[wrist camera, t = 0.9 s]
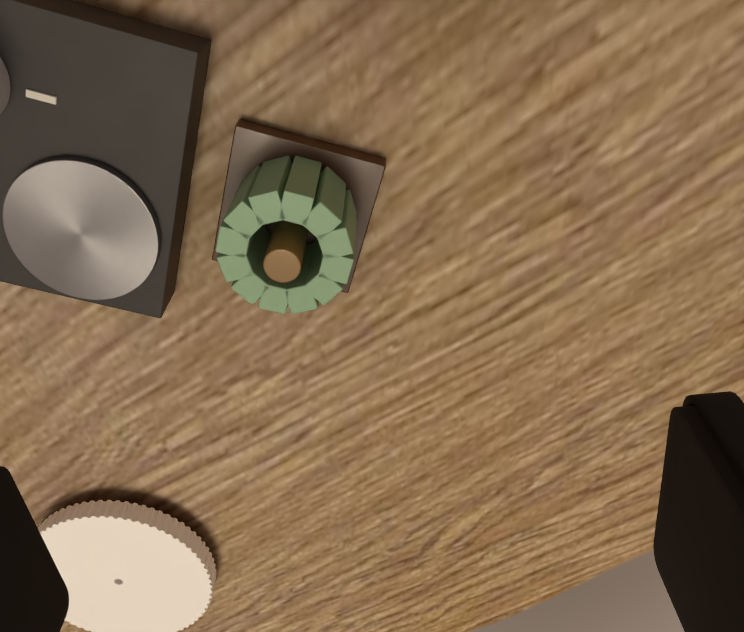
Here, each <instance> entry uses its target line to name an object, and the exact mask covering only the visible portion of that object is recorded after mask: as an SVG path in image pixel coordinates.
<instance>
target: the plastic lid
mask: <svg viewBox="0 0 744 632" xmlns="http://www.w3.org/2000/svg"><path fill="white" fill-rule="evenodd" d="M177 520H178V519H177V518H172V517H170V515H169V514H164V513H163V511H160V510H159V511H156V510H155V508H152V507H151V508H147V507H146V505H142V506H140V505H138V504H137V503H133V504H131V503H129V502H128V501H125V502H120V500H116V501H115V502H114V501H111V500H107V501H103V500H98V502H95V501H94V500H92V501H90V502H89V503H87V502H82V503H81V504H78V503H75V504H74V506H71V505H69V506H67V508H66V509H64V508H61V509H60V511H59V512H58V511H56V512H54V514H53V515H49V517H48V519H45V520H44V521H43V523H41V524H40V525H39V527H38V530H39V532H40V534H41V536H42V538H43V540H44V542H45V544H46V546H47V548H48V550H49V552H50V554H51V557H52V559H53V561H54V563H55V565H56V567H57V569H58V571H59V573H60V575H61V577H62V579H63V581H64V583H65V585H66V587H67V590H68V593H69V607H68V612H67V615H66V618H65V620H64V621H68V622H70V624H72V625H74V624H75V625H77V627H78V628H81V627H82V628H84V630H86V631H88V630H90V631H92V632H178V630H183V629H184V627H186V628H187V627H189V624H193V623H194V621H197V620H198V619H199V617H201V616H202V615H203V613H205V611H206V608H208V606H209V603H210V601H211V598H212V594H213V589H214V585H215V581H216V569H215V566H216V564H215V563H214V558H212V553H211V552H209V548H208V547H206V546H205V545H206V543H205V542H202V541H201V537H200V536H197V535H196V532H195V531H191V530H190V529H191V528H190V527H189V526H187V527H186V526H185V525H184V523H183V522H179V521H177Z"/></svg>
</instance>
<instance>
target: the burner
mask: <svg viewBox="0 0 744 632" xmlns="http://www.w3.org/2000/svg"><path fill="white" fill-rule="evenodd" d="M2 218H3V227H4V231H5V235H6V237H7V240H8V243H9V245H10V247H11V249H12V251H13V252H14V254H15V255H16V257H17V258H18V260H19V261H20V262H21V263H22V265H23V266H24V267H25V268H26V269H27V270H28V271H29V272H30V273H31V274H32V275H33V276H35V277H36V278H37V279H38V280H40V281H41V282H43V283H44V284H46V285H47V286H49V287H51V288H53V289H55V290H57V291H59V292H61V293H64V294H66V295H69V296H73V297H76V298H81V299H88V300H107V299H113V298H117V297H120V296H123V295H126V294H128V293H130V292H132V291H133V290H135V289H137V288H138V287H139V286H140V285H142V284H143V283H144V282H145V281H146V279H147V278H148V277H149V276H150V274H151V272H152V271H153V269H154V267H155V266H156V264H157V261H158V258H159V255H160V250H161V231H160V226H159V222H158V219H157V217H156V214H155V211H154V210H153V208H152V206H151V204H150V202H149V201H148V199H147V198H146V196H145V195H144V194H143V193H142V191H141V190H140V189H139V188H138V187H137V186H136V185H135V184H134V183H133V182H132V181H131V180H130V179H128V178H127V177H126V176H124V175H123V174H122V173H120V172H118V171H117V170H115V169H113V168H112V167H110V166H107V165H105V164H103V163H101V162H98V161H95V160H91V159H87V158H82V157H74V156H60V157H53V158H48V159H45V160H42V161H39V162H37V163H35V164H34V165H32V166H30V167H29V168H27V169H26V170H25V171H23V172H22V173H21V174H20V175H19V176H18V177H17V178H16V179H15V180H14V181H13V183H12V184H11V186H10V187H9V189H8V191H7V193H6V196H5V199H4V203H3V211H2Z"/></svg>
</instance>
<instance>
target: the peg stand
mask: <svg viewBox="0 0 744 632" xmlns="http://www.w3.org/2000/svg"><path fill="white" fill-rule="evenodd" d="M284 156H289V157H290V160H291V163H292V164H293V161H294V158H295V156H299V157H303V158H307V159H310V160H314V161H318V162H321V163H322V165H321V169H320V172H321V171H322V170H323V169H324V168H326V167H327V166H328V167H329V168H330V169H331V170H332V171H333V172H334V173H335V174H336V175H338V176H339V177H340V178H341V179H342V180H343V181H344V182H345V183H346V190H350V191H351V195H352V198H353V201H354V205H355V208H356V212H357V215H356V219H357V224H356V237H355V251H354V261H353V265H352V268H351V271H350V275H349V278H348V282H347V284H344V283H343V290H341V291H342V292H346V293H348V291H349V288H350V285H351V281H352V278H353V275H354V271H355V268H356V264H357V261H358V258H359V254H360V251H361V248H362V244H363V241H364V238H365V234H366V231H367V227H368V224H369V221H370V217H371V214H372V211H373V207H374V204H375V201H376V197H377V194H378V190H379V187H380V184H381V180H382V177H383V174H384V170H385V167H386V163H385V159H384V158H381V157H377V156H373V155H370V154H366V153H362V152H359V151H355V150H351V149H348V148H344V147H340V146H337V145H333V144H329V143H326V142H322V141H318V140H315V139H311V138H307V137H304V136H300V135H296V134H292V133H289V132H285V131H281V130H278V129H274V128H270V127H267V126H263V125H259V124H256V123H252V122H248V121H245V120H241V119H239V121H238V123H237V124H236V126H235V131H234V137H233V143H232V148H231V154H230V160H229V165H228V171H227V177H226V182H225V188H224V194H223V199H222V205H221V211H220V217H219V222H218V228H217V234H216V239H215V245H214V251H213V256H212V260H215V261H217V256H218V254H219V253H218V252H216V245H217V240H218V234H219V228H220V225H221V223H222V221H223V219H224V217H225V215H226V212H227V210H228V208H229V206H230V204H231V202H232V200H233V198H234V195H235V193H236V191H237V189H238V188H239V186H240V183H241V182H242V181H243V180H244V179H245V178H246V177H247V176H248V175H249V174H250V172H251V171H252V170H253V169H254V168H255V167H256V166H257V165H259V166H260V167H261V166H262V164H263V162H264V161H268V160H272V159H276V158H280V157H284ZM265 227H266V230H267V231H268V232H269V233H270V234H271V239H270V242H269V245H268V248H267V251H266V255H265V258H264V261H263V267H264V271H265V272H266V274H267V275H268V276H269V277H270V278H271V279H272V280H274V281H277V282H283V283H284V282H290V281H292V280H294V279H295V278H296V277H297V276H298V275H299V273H300V271H301V266H302V262H303V257H304V252H305V247H306V244H309V243H313V242H314V241H316V240H317V237H315V236H314V235H313V234H312V233H311V232H310V231H309V230H308V229H306V228H305V227H304V226H303V225H300V224H296V223H292V222H288V221H284V220H281V221H277V222H273V223H269V224H265Z"/></svg>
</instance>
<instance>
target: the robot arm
mask: <svg viewBox="0 0 744 632" xmlns="http://www.w3.org/2000/svg"><path fill="white" fill-rule="evenodd" d="M654 556H655V561H656V565H657V568H658V571H659V573H660V575H661V578H662V580H663V582H664V585H665V587H666V589H667V592H668V594H669V596H670V598H671V601H672V603H673V606H674V608H675V610H676V613H677V615H678V617H679V620H680V622H681V624H682V627H683V629H684V631H685V632H744V403H743V402H742V400H741V399H740V398H739V397H738V396H737V395H736V394H735V393H733V392H719V393H708V394H696V395H689V396H687V397H686V398H685V400H684V403H683V407H675V408H673V409H672V411H671V415H670V421H669V429H668V436H667V444H666V452H665V459H664V467H663V475H662V482H661V490H660V498H659V505H658V513H657V521H656V528H655V536H654ZM68 607H69V593H68V590H67V587H66V585H65V583H64V581H63V579H62V577H61V575H60V573H59V571H58V569H57V567H56V565H55V563H54V561H53V559H52V557H51V554H50V552H49V550H48V548H47V546H46V544H45V542H44V540H43V538H42V536H41V534H40V532H39V530H38V528H37V526H36V524H35V522H34V520H33V518H32V516H31V514H30V512H29V510H28V508H27V506H26V504H25V502H24V500H23V498H22V496H21V494H20V492H19V490H18V488H17V486H16V484H15V482H14V480H13V478H12V476H11V474H10V472H9V471H8V469H6V468H5V467H1V466H0V632H60V629H61V627H62V625H63V622H64V620H65V618H66V615H67V612H68Z"/></svg>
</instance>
